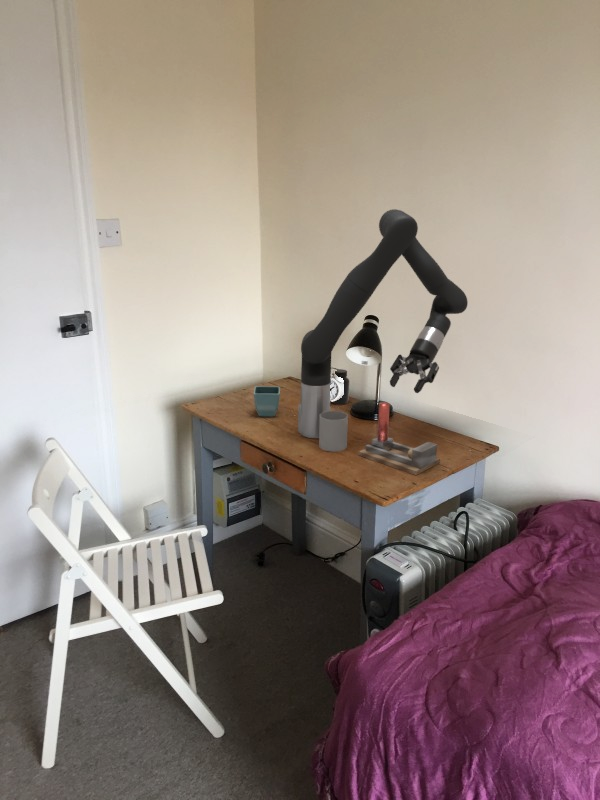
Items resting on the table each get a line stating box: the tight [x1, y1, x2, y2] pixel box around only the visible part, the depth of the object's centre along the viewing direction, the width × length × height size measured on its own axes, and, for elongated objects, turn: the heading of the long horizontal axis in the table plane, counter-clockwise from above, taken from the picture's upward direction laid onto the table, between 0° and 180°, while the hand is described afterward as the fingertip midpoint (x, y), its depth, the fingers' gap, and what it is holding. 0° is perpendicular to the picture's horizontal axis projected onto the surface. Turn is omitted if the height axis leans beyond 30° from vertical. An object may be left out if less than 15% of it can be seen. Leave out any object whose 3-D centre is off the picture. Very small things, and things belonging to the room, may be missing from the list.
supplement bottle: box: [334, 368, 350, 405], centre depth 237 cm, size 7×7×12 cm
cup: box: [318, 410, 349, 452], centre depth 197 cm, size 8×8×10 cm
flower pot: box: [253, 385, 281, 418], centre depth 224 cm, size 9×9×9 cm
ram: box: [371, 401, 394, 451], centre depth 191 cm, size 4×5×14 cm
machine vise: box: [358, 441, 441, 476], centre depth 188 cm, size 20×12×6 cm, turn 47°
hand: (403, 388), depth 194 cm, fingers open, 8 cm apart
